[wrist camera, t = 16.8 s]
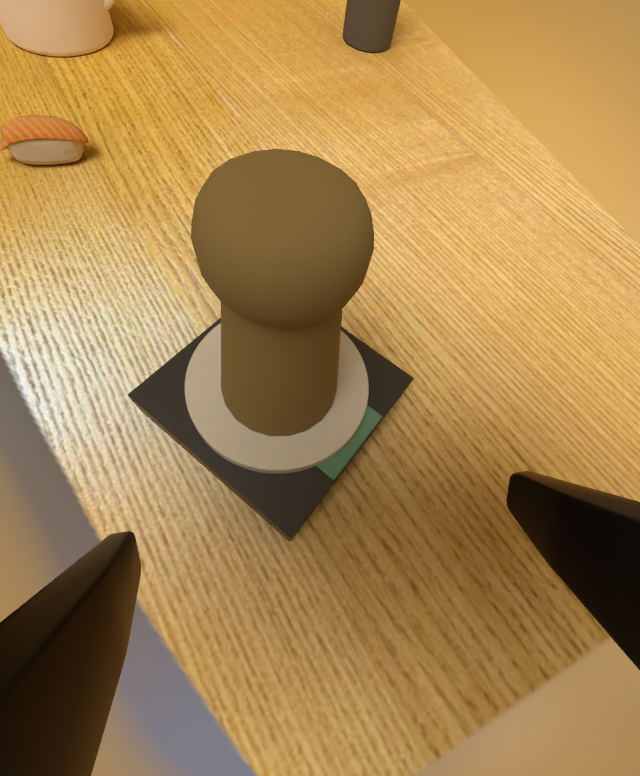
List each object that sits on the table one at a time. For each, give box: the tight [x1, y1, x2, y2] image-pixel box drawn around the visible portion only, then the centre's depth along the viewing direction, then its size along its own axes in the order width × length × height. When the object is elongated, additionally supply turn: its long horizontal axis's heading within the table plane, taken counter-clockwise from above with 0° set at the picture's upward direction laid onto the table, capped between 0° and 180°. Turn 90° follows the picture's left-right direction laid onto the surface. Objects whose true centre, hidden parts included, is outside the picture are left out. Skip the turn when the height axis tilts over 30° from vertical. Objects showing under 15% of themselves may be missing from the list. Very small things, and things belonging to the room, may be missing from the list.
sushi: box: [0, 115, 88, 165], centre depth 27 cm, size 3×6×3 cm, turn 108°
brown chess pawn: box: [191, 149, 374, 436], centre depth 14 cm, size 6×6×11 cm
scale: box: [128, 318, 413, 541], centre depth 20 cm, size 11×11×3 cm
